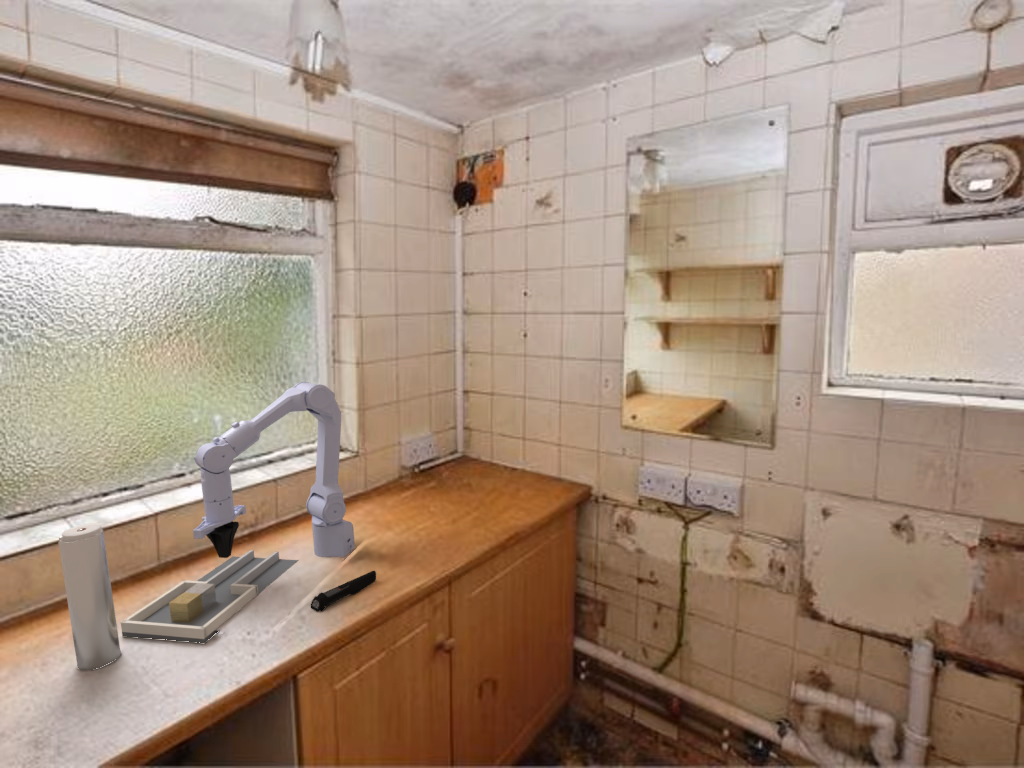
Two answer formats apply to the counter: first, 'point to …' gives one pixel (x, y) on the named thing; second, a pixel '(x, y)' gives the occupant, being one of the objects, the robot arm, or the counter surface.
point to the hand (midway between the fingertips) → (224, 556)
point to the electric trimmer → (342, 591)
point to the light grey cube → (204, 593)
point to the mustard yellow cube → (186, 607)
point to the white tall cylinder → (89, 596)
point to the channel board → (233, 591)
